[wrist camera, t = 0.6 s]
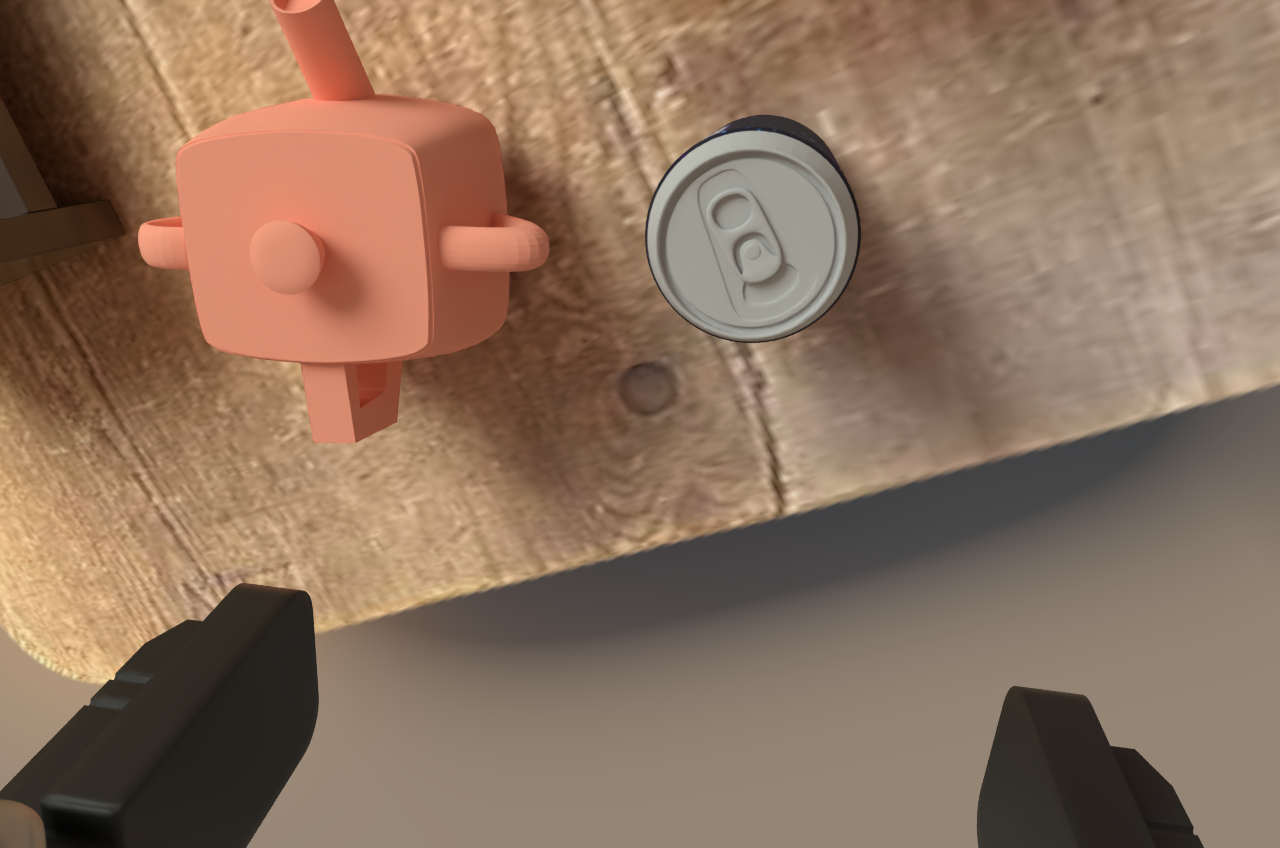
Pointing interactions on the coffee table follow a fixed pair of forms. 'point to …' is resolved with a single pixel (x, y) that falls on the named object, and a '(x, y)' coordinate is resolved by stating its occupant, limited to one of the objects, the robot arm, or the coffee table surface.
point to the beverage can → (754, 231)
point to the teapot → (345, 231)
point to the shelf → (41, 214)
